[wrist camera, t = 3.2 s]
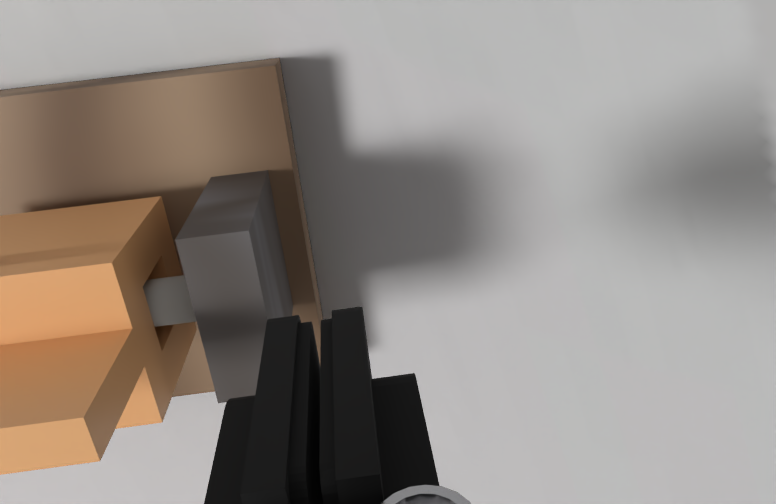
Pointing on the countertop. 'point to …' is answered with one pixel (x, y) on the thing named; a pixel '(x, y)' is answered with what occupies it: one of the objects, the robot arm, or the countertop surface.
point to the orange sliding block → (83, 330)
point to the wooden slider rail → (182, 196)
